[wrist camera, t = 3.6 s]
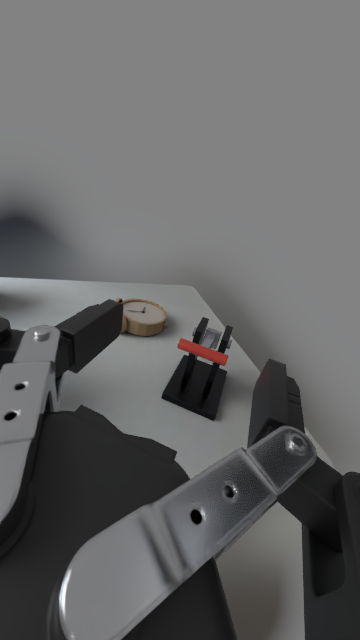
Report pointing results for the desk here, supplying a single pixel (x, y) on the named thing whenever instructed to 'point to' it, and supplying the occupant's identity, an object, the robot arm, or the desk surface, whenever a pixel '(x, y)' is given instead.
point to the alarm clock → (142, 317)
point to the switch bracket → (198, 378)
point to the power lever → (205, 347)
